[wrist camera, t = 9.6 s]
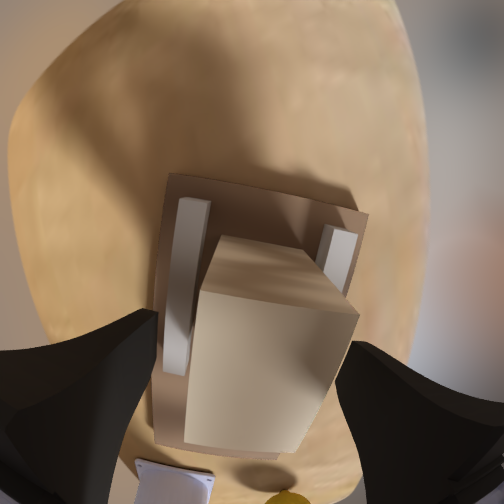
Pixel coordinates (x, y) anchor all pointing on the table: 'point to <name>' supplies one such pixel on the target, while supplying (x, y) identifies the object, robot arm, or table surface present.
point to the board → (197, 263)
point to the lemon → (287, 498)
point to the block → (263, 347)
